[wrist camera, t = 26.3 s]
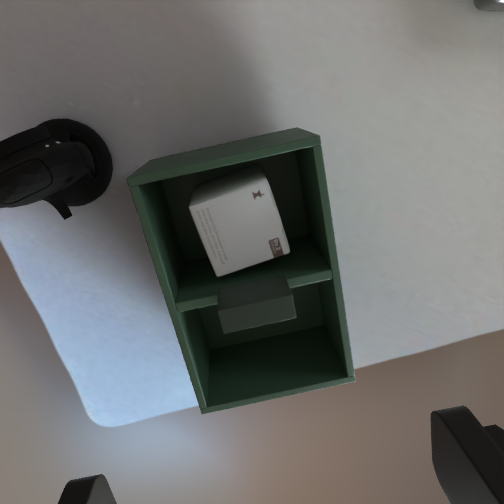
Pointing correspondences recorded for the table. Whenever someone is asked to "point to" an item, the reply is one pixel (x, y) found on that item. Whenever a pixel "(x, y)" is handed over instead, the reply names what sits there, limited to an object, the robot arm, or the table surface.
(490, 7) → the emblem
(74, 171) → the webcam
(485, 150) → the table surface
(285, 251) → the product carton
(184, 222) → the bin
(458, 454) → the robot arm
